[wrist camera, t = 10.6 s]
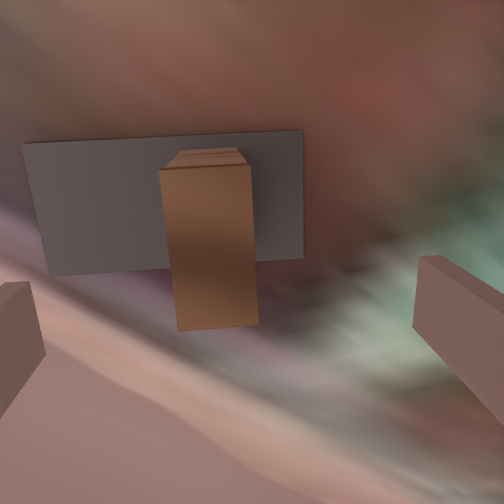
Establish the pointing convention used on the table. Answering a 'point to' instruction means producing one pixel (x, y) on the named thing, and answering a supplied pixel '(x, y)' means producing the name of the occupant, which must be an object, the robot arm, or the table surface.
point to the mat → (152, 198)
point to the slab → (210, 238)
